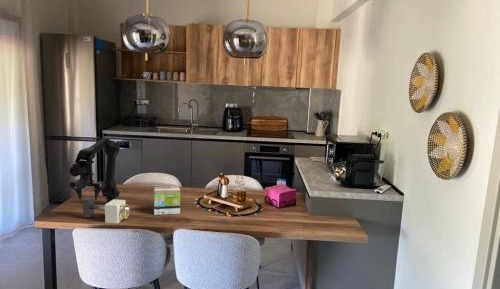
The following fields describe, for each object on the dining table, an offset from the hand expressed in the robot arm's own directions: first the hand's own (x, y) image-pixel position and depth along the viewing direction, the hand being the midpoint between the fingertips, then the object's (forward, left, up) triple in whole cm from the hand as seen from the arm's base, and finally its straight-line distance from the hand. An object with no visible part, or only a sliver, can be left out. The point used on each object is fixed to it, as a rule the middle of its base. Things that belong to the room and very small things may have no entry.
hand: (88, 199), depth 213 cm
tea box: (+4, +43, -11) cm, 44 cm away
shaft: (+6, +9, -10) cm, 15 cm away
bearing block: (+8, +14, -11) cm, 19 cm away
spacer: (+11, +19, -5) cm, 23 cm away
